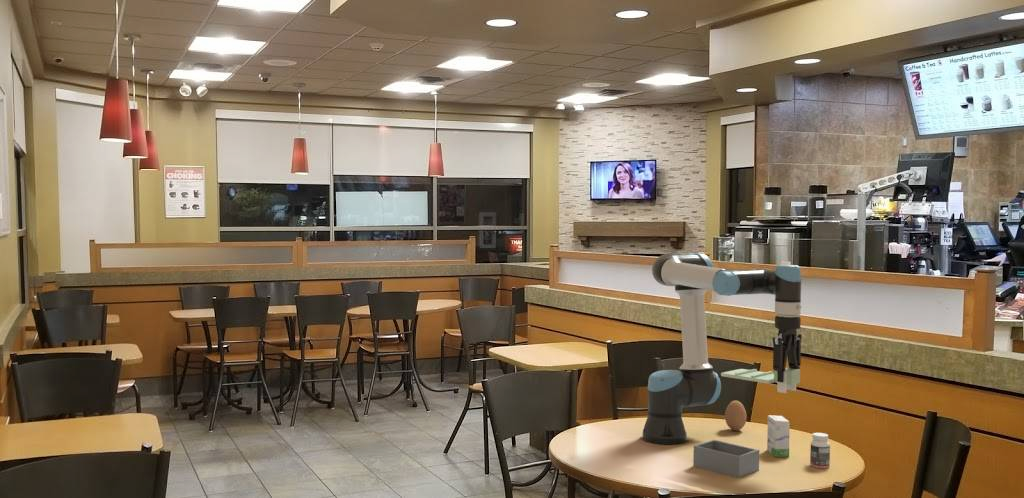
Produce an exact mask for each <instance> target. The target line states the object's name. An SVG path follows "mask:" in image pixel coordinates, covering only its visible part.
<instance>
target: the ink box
mask: <svg viewBox="0 0 1024 498" xmlns="http://www.w3.org/2000/svg"><path fill="white" fill-rule="evenodd" d="M790 425H791V424H790V421H789V420H788V419H786V418H785V417H784V416H783V415H773V414H772V415H771V414H770V415H769V414H768V415H767V437H766V438H767V439H766V440H767V443H766V450H767V451H768V452H769V454H771V455H772V456H773V457H774V458H789V457H790Z"/></svg>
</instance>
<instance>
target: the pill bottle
mask: <svg viewBox="0 0 1024 498" xmlns="http://www.w3.org/2000/svg"><path fill="white" fill-rule="evenodd" d="M811 437H812V440H811V441H810V457H809V458H810V459H809V461H810V463H809V464H810V466H811V467H814V468H815V469H816V468H817V469H827V468H830V464H831V463H830V462H831V444H830V442H829V434H827V433H825V432H824V433H823V432H812V436H811Z"/></svg>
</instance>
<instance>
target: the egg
mask: <svg viewBox="0 0 1024 498" xmlns="http://www.w3.org/2000/svg"><path fill="white" fill-rule="evenodd" d="M724 421H725V422H726V425H727V426H728V428H729V429H730V430H732V431H735V432H736V431H737V432H738V431H740V430H742V429H743V428H744V427H745V425H746V423H747V411H746V409H745V406H744V404H742V402H740V401H739V400H732V401H730V403H729V404H728V405H727V406H726V409H725V413H724Z"/></svg>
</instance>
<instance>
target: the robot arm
mask: <svg viewBox="0 0 1024 498" xmlns="http://www.w3.org/2000/svg"><path fill="white" fill-rule="evenodd" d="M651 272H652V276H653V278H654V280H655V281H656V282H657V283H658V284H660V285H662V286H666V287H674V291H675V293H676V294H677V295H678V296H679V306H680V309H679V310H680V323H681V325H680V326H681V341H682V358H683V359H682V360H683V363H682V364H681V365H680V367H679V370H677V369H662V370H657V371H655V372H653V373H651V374H650V375H649V377H648V384H647V418H646V421H645V424H644V427H643V429H642V439H643V440H644V441H646V442H648V443H653V444H657V445H658V444H659V445H679V444H682V443H686V441H687V440H688V438H687V437H688V436H687V431H686V428H685V424H684V420H683V415H682V414H683V408H689V407H697V406H701V407H705V406H707V405H711V404H714V403H715V402H716V401H717V400H718V399H719V397H720V394H721V390H722V383H721V379H720V377H719V375H718V373H717V372H716V371H714V367H713V365H711V364H710V363H709V355H708V354H709V353H708V340H707V337H708V336H707V320H706V303H705V295H706V293H707V292H708V291H712V292H716V294H717V295H719V296H727V297H730V296H735V295H736V296H738V295H761V294H762V295H764V294H765V295H774V314H775V316H774V327H775V328H776V329H778V333H777V336H776V337H772V345H773V347H772V349H773V350H772V353H773V356H772V369H773V372H774V371H777V385H776V386H777V387H776V389H777V390H776V391H777V393H780V394H781V393H782V394H787V393H788V392H787V391H794V392H796V391H797V384H794V385H789V384H787V372H785V368H787V364H788V368H791V369H798V370H801V367H800V366H801V365H802V364H801V363H802V361H801V359H802V356H801V355H802V350H801V349H802V348H801V347H802V345H801V343H802V338H803V336H802V334H801V333H800V334H799V333H798V332H797V330H799V329H801V326H802V325H801V322H802V321H801V320H802V319H801V317H800V316H801V309H802V303H801V302H802V280H803V279H802V268H801V266H799V265H796V264H777V265H776V266H775V270H770V269H764V268H755V269H751V270H750V269H749V270H745V269H744V270H732V269H726V268H718V267H714V264H713V261H712V259H710V257H708V256H707V254H704V253H702V252H677V253H676V252H671V253H663V254H661V255H660V256H657V258H656V259H655V261H654V262H653V264H652V267H651Z"/></svg>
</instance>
